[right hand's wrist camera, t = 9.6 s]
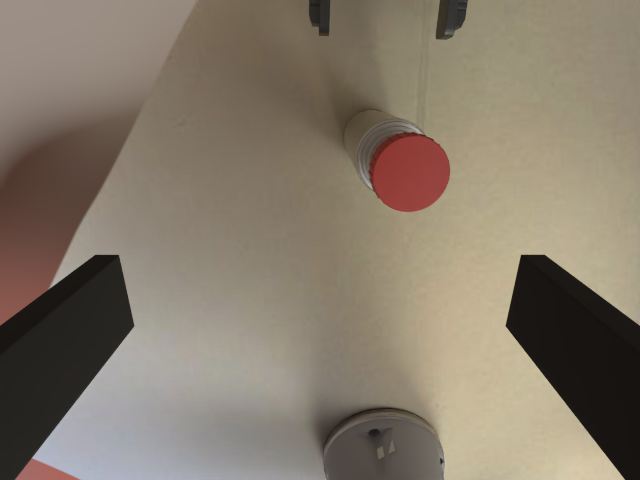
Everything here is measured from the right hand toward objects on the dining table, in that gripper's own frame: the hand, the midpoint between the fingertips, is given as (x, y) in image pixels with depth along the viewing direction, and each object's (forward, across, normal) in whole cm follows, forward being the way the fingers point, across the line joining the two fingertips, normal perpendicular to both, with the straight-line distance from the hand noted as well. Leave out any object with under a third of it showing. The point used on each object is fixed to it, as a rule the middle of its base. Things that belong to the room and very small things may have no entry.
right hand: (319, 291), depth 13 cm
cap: (+8, +5, +2) cm, 9 cm away
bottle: (+25, +4, +2) cm, 25 cm away
